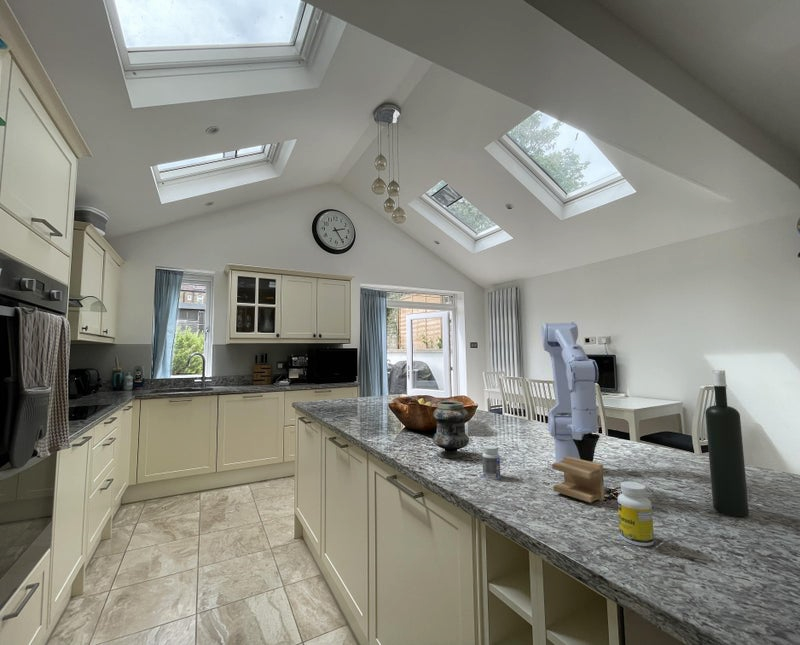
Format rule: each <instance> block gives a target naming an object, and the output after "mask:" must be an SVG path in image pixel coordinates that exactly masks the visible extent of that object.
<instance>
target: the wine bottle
mask: <svg viewBox="0 0 800 645" xmlns="http://www.w3.org/2000/svg"><path fill="white" fill-rule="evenodd" d="M711 372H712V382H713V383H712V384H713V388H714V399H715V400H714V402H715V405H710V406H709V407H707V408H706V410H705V412H704V413H705V423H706V436H707V447H708V448H707V450H708V460H709V470H710V484H711V497H712V508H713V509H715V510H716V511H718V512H720V513H722V514H725V515H730V516H733V517H735V516H736V517H748V516H749V515H750V512H749V511H750V509H749V501H748V500H749V498H748V489H747V487H748V486H747V479H746V478H747V477H746V476H747V475H746V466H745V454H744V446H743V443H744V442H743V433H742V425H741V424H742V423H741V422H742V421H741V414H740V412H739V411H738V410H737V409H736V408H735V407H732V406H729V405H728V397H727V396H728V395H727V387H726V386H727V380H726V377H727V376H726V370H722V369H721V370H718V369H715V370H711Z"/></svg>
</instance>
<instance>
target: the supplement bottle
mask: <svg viewBox="0 0 800 645" xmlns="http://www.w3.org/2000/svg"><path fill="white" fill-rule="evenodd" d="M646 488H647V487H646V486H645V485H644V484H642V483H639V482H635V481H622V482H621V483H620V491H621V492H622V493H620V494H618V495H617V511H618V512H617V513H618V528H619V535H620V538H622V540H624V541H625V542H627V543H629V544H632V545H635V546H638V547H649V546H653V545H654V543H655V535H654V534H655V531H654V521H653V520H654V517H653V507H652V506H653V505H652V504H653V503H652V501H651V500H650V499H649V498H648V497H647V489H646Z"/></svg>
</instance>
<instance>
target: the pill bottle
mask: <svg viewBox="0 0 800 645" xmlns="http://www.w3.org/2000/svg"><path fill="white" fill-rule="evenodd" d="M481 457H482V477H483V478H484V479H486V480H492V481H493V480H496V481H497V480H499V479H501V461H500V459H501V457H500V454H499V447H498V446H496V445H494V444H493V445H492V444H490V445H484V446H483V453H482V456H481Z"/></svg>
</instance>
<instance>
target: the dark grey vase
mask: <svg viewBox="0 0 800 645" xmlns="http://www.w3.org/2000/svg"><path fill="white" fill-rule="evenodd" d="M432 416H433V418H434V419H435V420H436V433H434V435H433V437H432V442H433V443H434V445H435V446H437V447H438V448H441V449H443V450H442V451H441V452H438V453H437V454H436V456H437V457H438V458H440V459H444V460H453V461H454V460H461V459H465V458H467V456H466V454H465V453H464V452H462V451H459V450H461V449H463V448H466V446H468V444H469V443H470V438H469V436H468V435H467V434H466V425H465V424H466V420H467V419H468V418H469V412H468V411H467V410H466V409H465V407H464V403H463V402H461V401H456V400H455V401H453V400H452V401H451V400H443V401H438V403H437V408H436V409H434V411H433V414H432Z"/></svg>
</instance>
